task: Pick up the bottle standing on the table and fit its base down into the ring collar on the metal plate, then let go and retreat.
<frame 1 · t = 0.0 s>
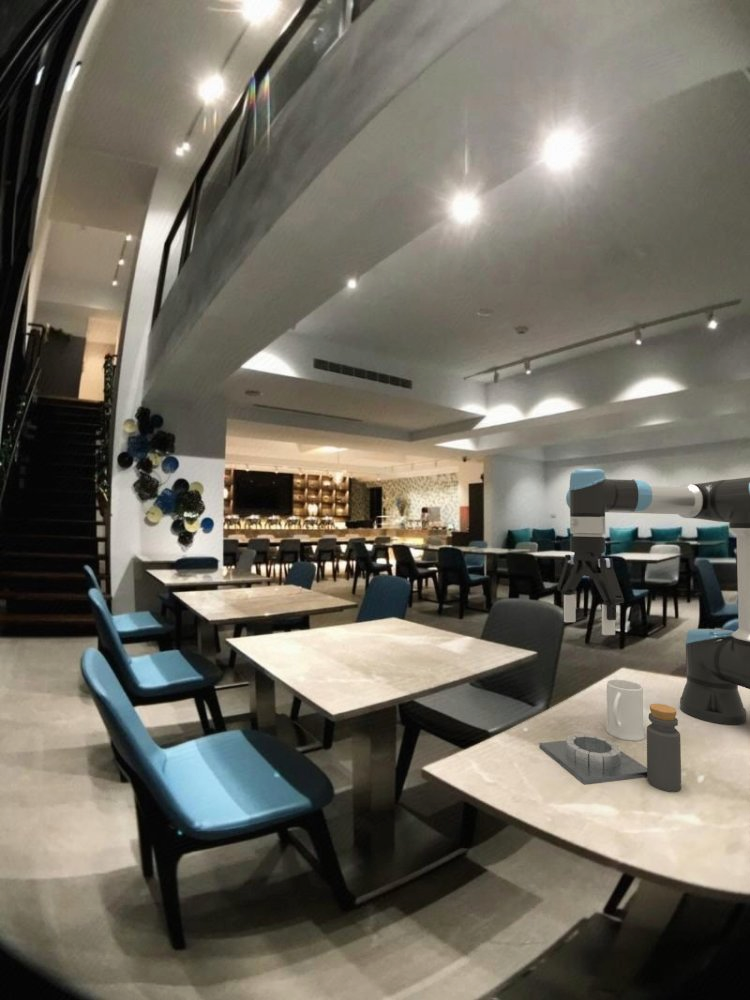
hand: (588, 628, 110), 28 cm above the table, fingers open, 13 cm apart
collar plate: (592, 760, 105), on the table
mug: (622, 736, 118), on the table
bottle: (663, 785, 96), on the table
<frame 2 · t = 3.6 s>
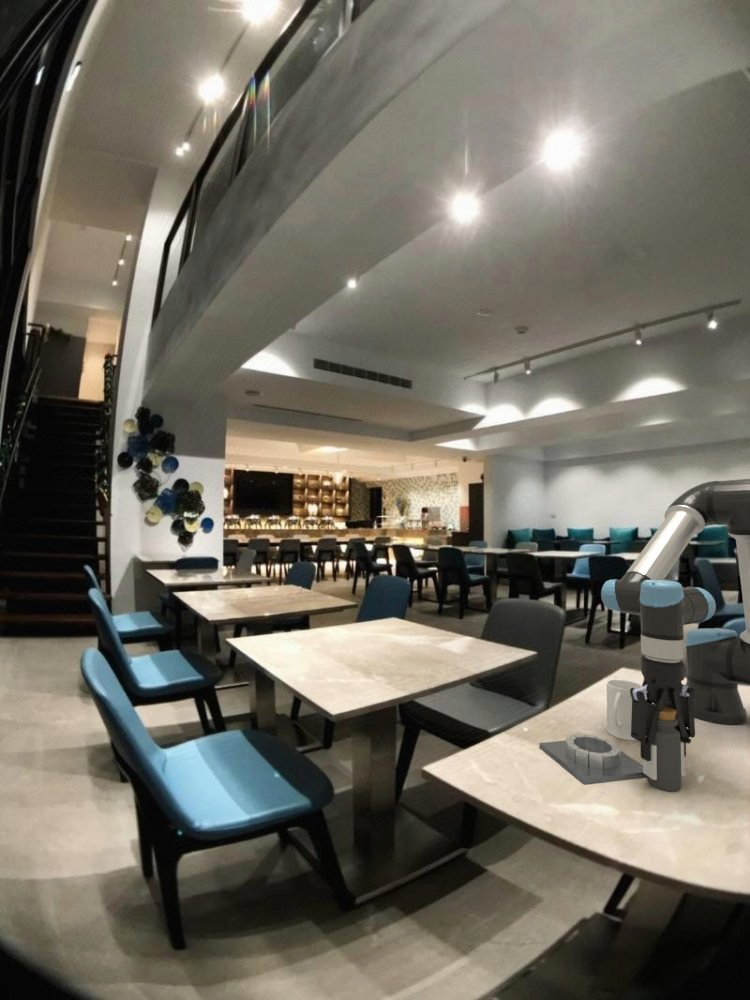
hand: (663, 774, 96), 2 cm above the table, fingers closed on bottle, 6 cm apart
bottle: (663, 785, 96), on the table, touching gripper
everything else where it was.
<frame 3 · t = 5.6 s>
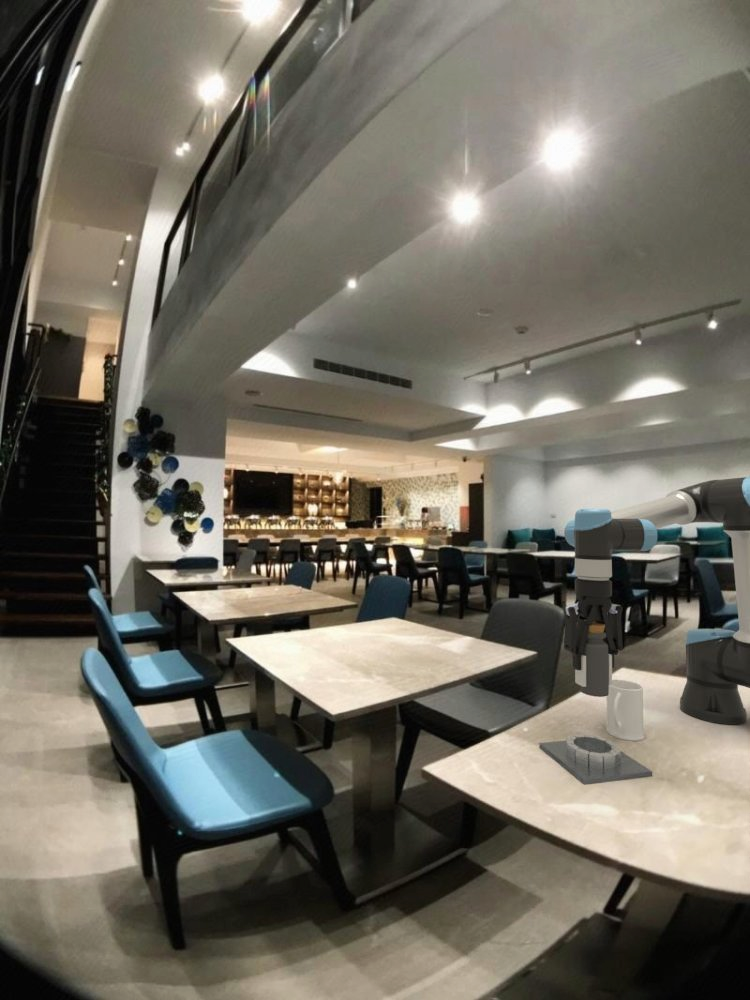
hand: (593, 683, 105), 17 cm above the table, fingers closed on bottle, 6 cm apart
bottle: (594, 693, 105), point 15 cm above the table, touching gripper
everything else where it was.
when the fingers open (5 cm above the table, at t = 8.1 s): bottle drops 2 cm, resting on collar plate.
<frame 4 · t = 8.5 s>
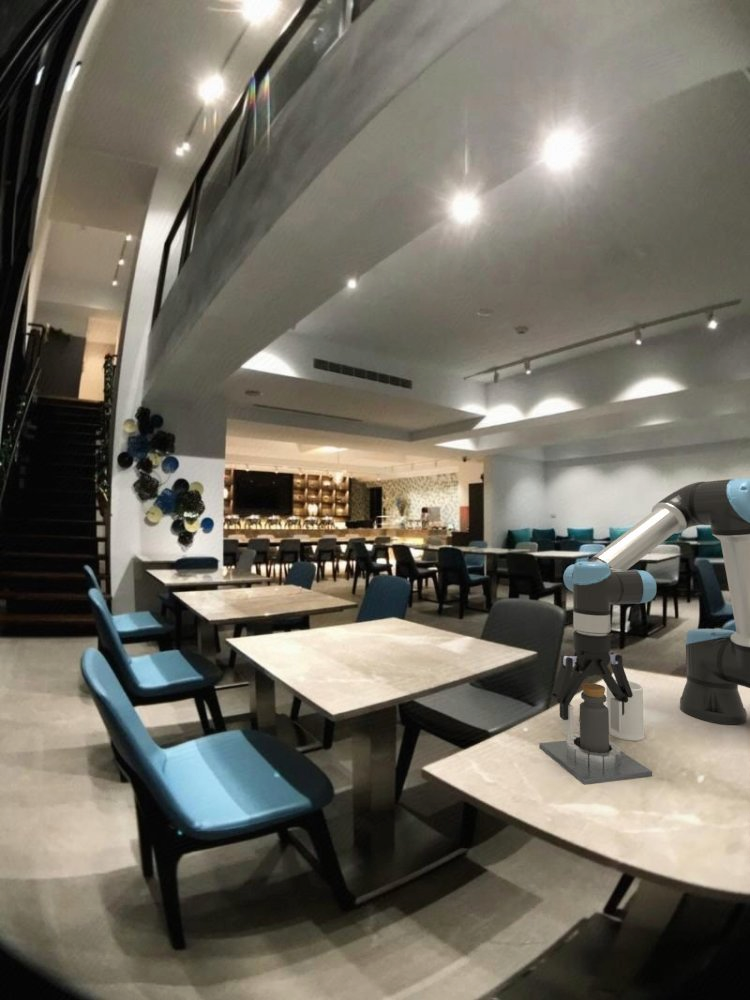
hand: (592, 732, 105), 6 cm above the table, fingers open, 11 cm apart
bottle: (594, 757, 105), point 1 cm above the table, touching collar plate
everything else where it was.
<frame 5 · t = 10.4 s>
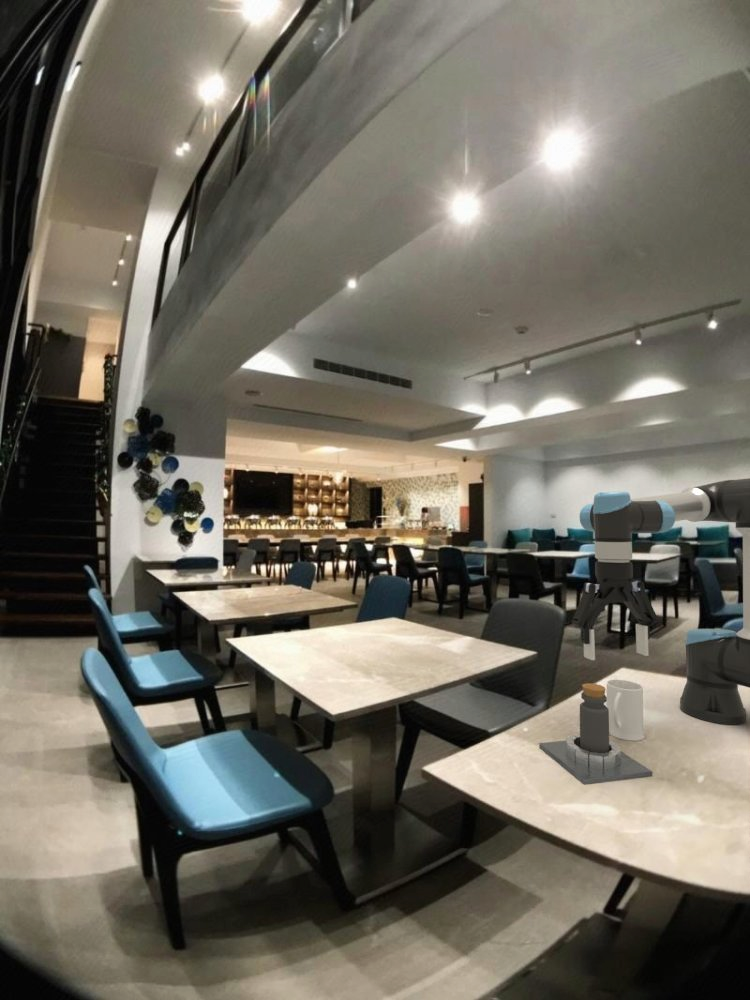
hand: (616, 656, 106), 23 cm above the table, fingers open, 13 cm apart
nothing on the table moved.
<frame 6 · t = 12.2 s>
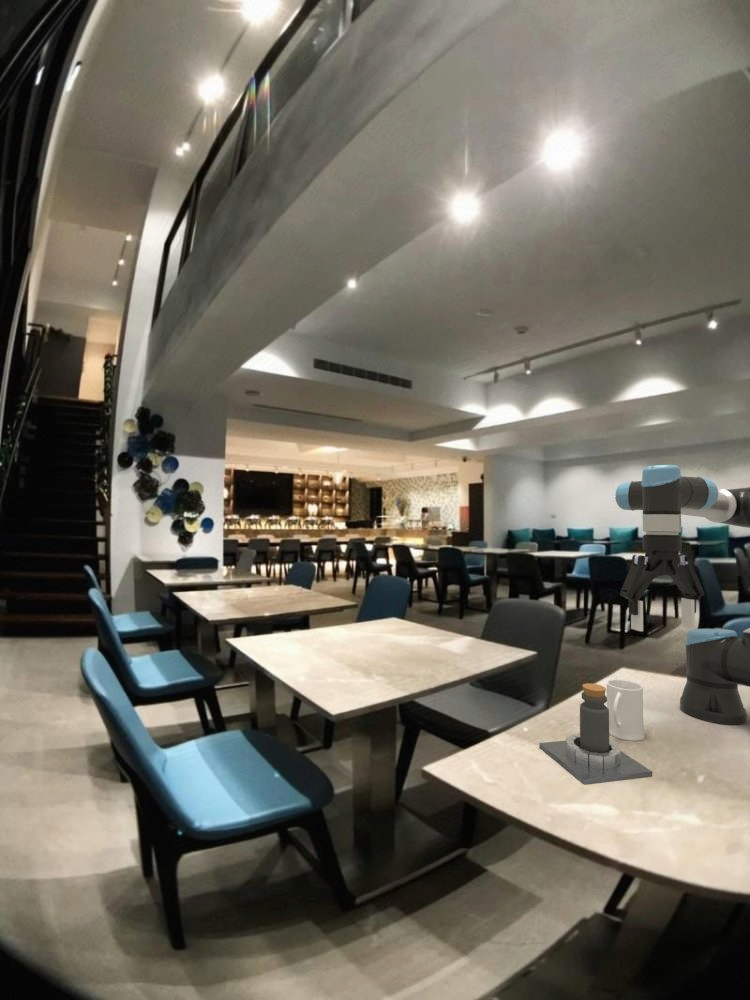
hand: (663, 629, 107), 29 cm above the table, fingers open, 13 cm apart
nothing on the table moved.
at the end: bottle 0.5 cm off-centre on the collar plate, point 0.8 cm above the collar plate's base; bottle tilted 0°; the gripper is holding nothing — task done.
